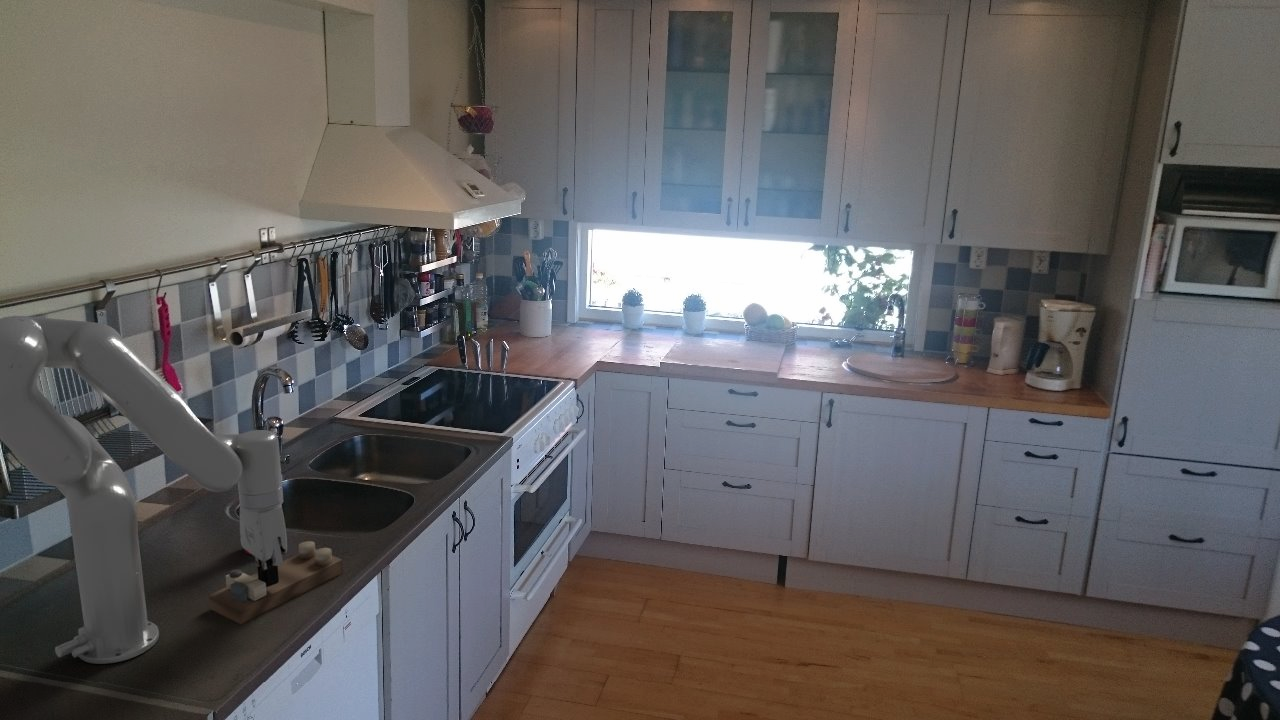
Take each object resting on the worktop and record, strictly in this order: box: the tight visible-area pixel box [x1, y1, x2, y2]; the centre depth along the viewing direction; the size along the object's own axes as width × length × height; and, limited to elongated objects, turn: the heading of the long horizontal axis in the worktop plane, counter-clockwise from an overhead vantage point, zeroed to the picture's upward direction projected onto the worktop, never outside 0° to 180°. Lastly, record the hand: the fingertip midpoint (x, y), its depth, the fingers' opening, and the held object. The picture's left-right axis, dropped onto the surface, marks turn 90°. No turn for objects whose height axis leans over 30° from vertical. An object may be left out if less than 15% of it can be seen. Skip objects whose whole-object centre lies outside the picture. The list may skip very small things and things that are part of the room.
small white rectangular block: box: [225, 568, 267, 601], centre depth 170 cm, size 8×3×3 cm, turn 60°
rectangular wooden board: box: [208, 540, 344, 625], centre depth 177 cm, size 24×9×6 cm, turn 149°
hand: (268, 584), depth 172 cm, fingers closed
